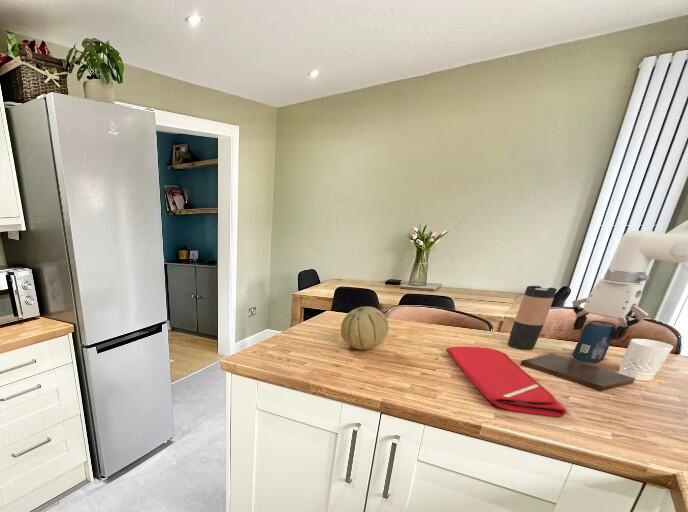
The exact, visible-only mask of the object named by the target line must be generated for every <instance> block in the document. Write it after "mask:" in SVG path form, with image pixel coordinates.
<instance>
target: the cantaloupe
mask: <svg viewBox="0 0 688 512" xmlns="http://www.w3.org/2000/svg"><path fill="white" fill-rule="evenodd" d="M389 327H390V326H389V322H388V318H387V316H386V315H385V314H384V313H383V312H382V311H381V310H379V309H378V308H376V307H374V306H359V307H356V308H354V309H352V310H350V311H349V312H347V314H346V315H345V316H344V318H343V319H342V321H341V325H340V335H341V337H342V339H343V341H344V342H345V343H346V344H347V345H348V346H349V347H351V348H352V349H355V350H360V351H362V350H366V351H367V350H371V349H373V348H374V349H375V348H376V347H378V346H380V345H381V344H382V343H383V342H384V341H385V339H386V338H387V336H388V334H389Z"/></svg>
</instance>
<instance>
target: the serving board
mask: <svg viewBox="0 0 688 512" xmlns="http://www.w3.org/2000/svg"><path fill="white" fill-rule="evenodd" d="M519 366H522V367H525V368H527V369H532V370H534V371H537V372H540V373H543V374H546V373H547V374H546V375H549V374H550V376H552V375H553V376H552V377H555V376H556V378H559V379H562V380H565V381H568V382H571V383H573V382H574V384H576V383H577V385H579V384H580V385H579V386H583V387H586V388H589V389H592V390H595V391H598V392H604V391H608V390H612V389H617V388H620V387H624V386H628V385H631V384H634V382H635V381H636V380H635V378H632V377H629V376H625V375H622V374H619V373H618V372H615V371H611V370H608V369H605V368H601V367H598V366H594V365H592V364H589V363H583V362H580V361H577V360H575V359H570V358H567V357H563V356H559V355H556V354H553V353H552V354H546V355H542V356H536V357H532V358H527V359H522V360H521V361H520V365H519Z"/></svg>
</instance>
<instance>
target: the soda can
mask: <svg viewBox="0 0 688 512" xmlns="http://www.w3.org/2000/svg"><path fill="white" fill-rule="evenodd" d="M616 329H617V325H616V324H615V323H613V322H608V321H603V320H589V321H588V323H587V324H586V325H584V326H583V328H582V332H581V333H580V335H579V338H578V341H577V343H576V345H575V347H574V350H573V352H572V357H573V360H574V361H577V362H581V363H583V362H584V364H590V363H591V364H590V365H597V364H599V363H601V362H602V361H603V360H604V359H605V357H606V354H607V352H608V350H609V347H610V346H611V343H612V342H613V339H612V337H613V335H614V333H615V331H616ZM596 363H597V364H596Z"/></svg>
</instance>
